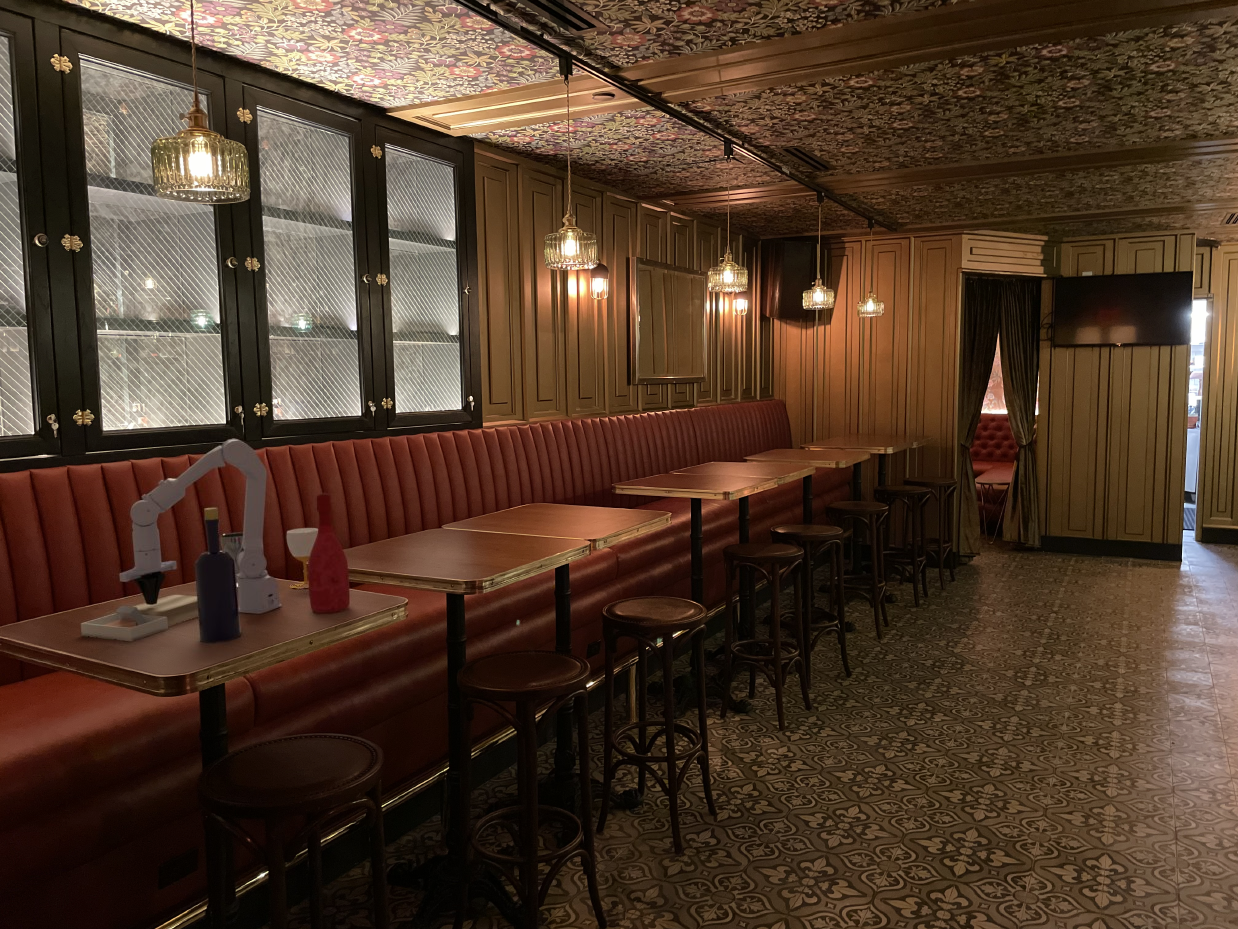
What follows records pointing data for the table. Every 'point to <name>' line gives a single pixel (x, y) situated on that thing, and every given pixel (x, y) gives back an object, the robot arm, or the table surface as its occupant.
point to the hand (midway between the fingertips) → (151, 604)
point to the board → (172, 608)
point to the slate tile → (130, 614)
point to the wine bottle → (327, 566)
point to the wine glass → (232, 545)
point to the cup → (301, 547)
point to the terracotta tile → (123, 623)
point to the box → (123, 628)
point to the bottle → (216, 588)
